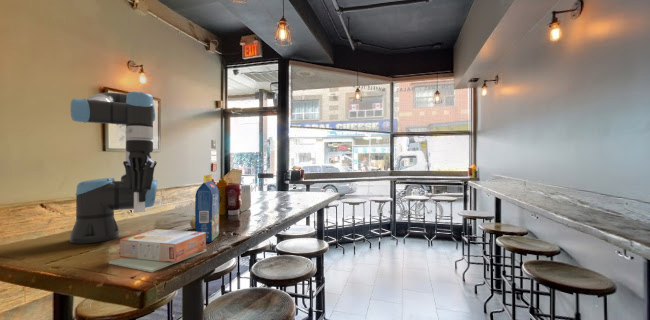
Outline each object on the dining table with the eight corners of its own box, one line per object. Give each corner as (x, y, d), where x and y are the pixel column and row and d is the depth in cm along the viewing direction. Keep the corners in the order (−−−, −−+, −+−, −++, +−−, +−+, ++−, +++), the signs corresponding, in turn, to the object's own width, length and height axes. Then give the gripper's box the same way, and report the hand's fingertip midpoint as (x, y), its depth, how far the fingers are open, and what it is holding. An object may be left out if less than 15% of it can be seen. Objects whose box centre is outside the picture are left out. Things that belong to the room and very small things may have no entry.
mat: (108, 263, 86) (108, 261, 86) (167, 245, 105) (167, 243, 105) (151, 272, 80) (151, 270, 80) (206, 251, 98) (206, 249, 98)
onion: (198, 232, 125) (198, 215, 125) (186, 230, 129) (186, 214, 129) (213, 228, 132) (213, 212, 132) (200, 226, 136) (201, 211, 136)
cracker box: (119, 258, 90) (175, 263, 84) (118, 238, 90) (175, 242, 84) (156, 245, 103) (207, 249, 98) (156, 228, 103) (206, 231, 98)
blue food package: (219, 234, 121) (219, 174, 121) (212, 242, 109) (212, 175, 109) (203, 234, 120) (203, 174, 120) (194, 242, 108) (194, 175, 108)
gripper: (115, 139, 95) (114, 212, 95) (142, 138, 90) (142, 215, 90) (137, 141, 102) (137, 209, 102) (164, 140, 97) (163, 211, 97)
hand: (139, 211), depth 96 cm, fingers closed
